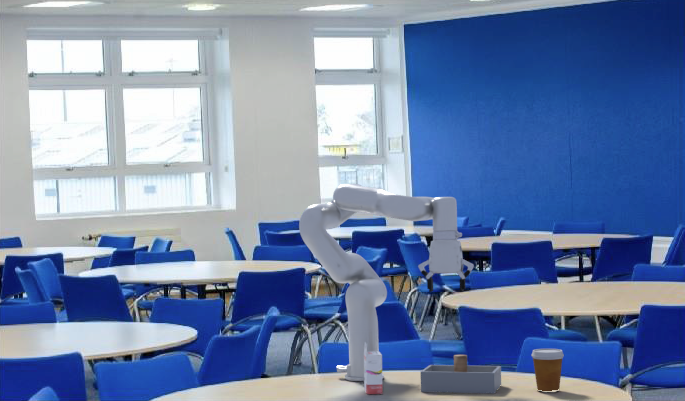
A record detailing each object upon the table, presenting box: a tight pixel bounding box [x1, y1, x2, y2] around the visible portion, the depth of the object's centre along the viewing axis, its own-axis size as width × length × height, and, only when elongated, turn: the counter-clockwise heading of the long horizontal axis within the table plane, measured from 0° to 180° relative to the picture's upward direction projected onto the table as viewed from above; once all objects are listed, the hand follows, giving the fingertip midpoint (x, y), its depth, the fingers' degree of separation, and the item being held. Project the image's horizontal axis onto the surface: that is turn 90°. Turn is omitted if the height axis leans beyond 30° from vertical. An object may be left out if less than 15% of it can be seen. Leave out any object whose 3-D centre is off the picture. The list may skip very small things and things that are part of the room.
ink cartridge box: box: [363, 343, 384, 395], centre depth 365 cm, size 9×5×15 cm, turn 5°
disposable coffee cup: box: [530, 348, 565, 391], centre depth 359 cm, size 10×10×12 cm
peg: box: [453, 354, 468, 372], centre depth 367 cm, size 4×4×10 cm
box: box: [420, 364, 502, 394], centre depth 367 cm, size 22×14×6 cm, turn 75°
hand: (446, 291), depth 379 cm, fingers open, 9 cm apart
